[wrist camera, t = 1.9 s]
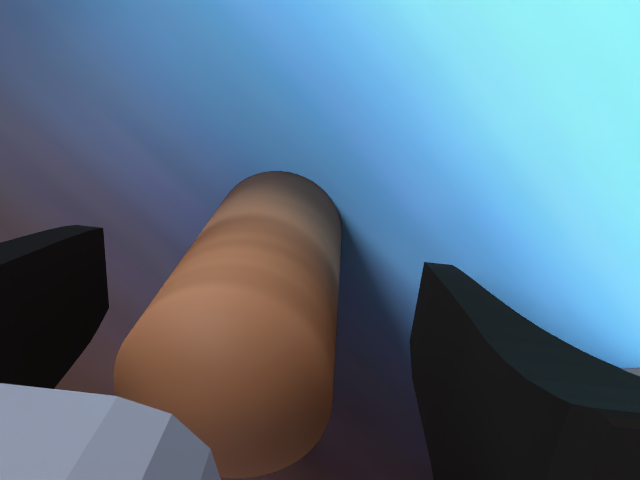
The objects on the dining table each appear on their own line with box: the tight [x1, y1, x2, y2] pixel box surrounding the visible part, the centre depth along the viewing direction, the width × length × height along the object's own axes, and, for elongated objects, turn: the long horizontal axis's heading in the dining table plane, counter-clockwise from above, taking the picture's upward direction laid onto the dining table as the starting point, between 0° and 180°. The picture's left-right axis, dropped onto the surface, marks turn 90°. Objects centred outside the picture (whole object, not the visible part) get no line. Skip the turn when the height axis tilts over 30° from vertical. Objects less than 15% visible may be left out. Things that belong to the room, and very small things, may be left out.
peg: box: [113, 171, 342, 478], centre depth 12 cm, size 4×4×7 cm
